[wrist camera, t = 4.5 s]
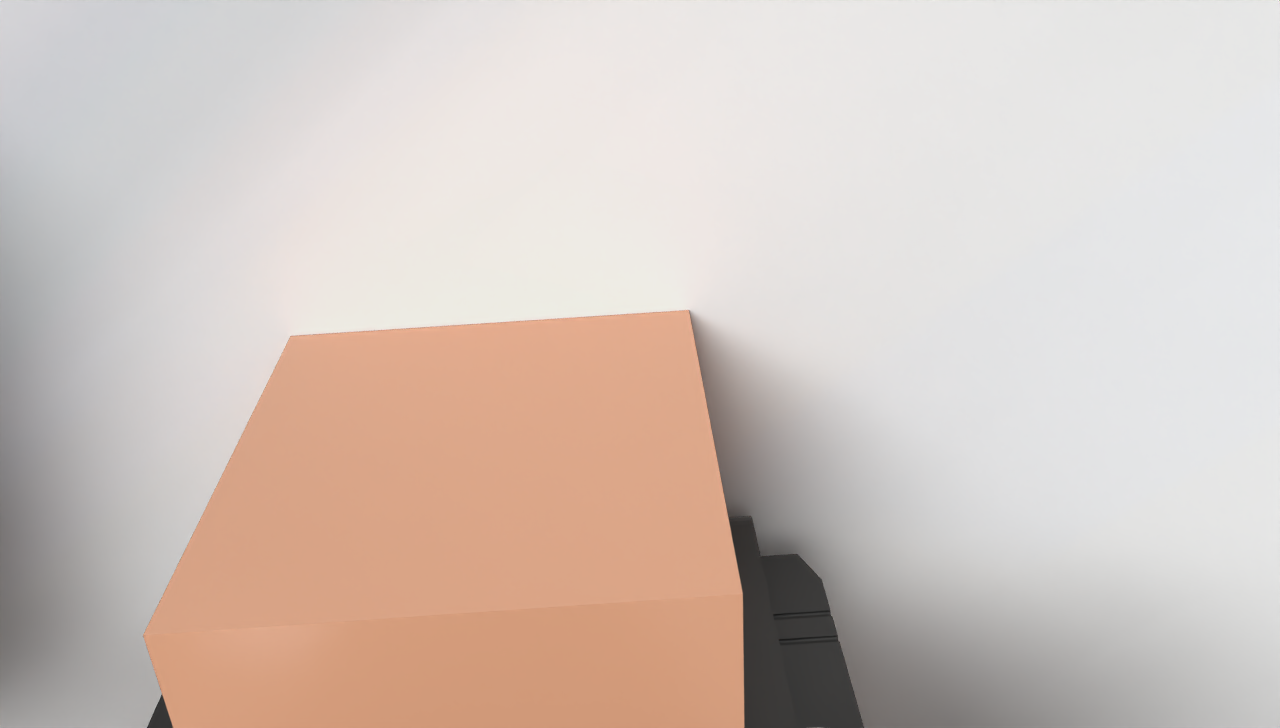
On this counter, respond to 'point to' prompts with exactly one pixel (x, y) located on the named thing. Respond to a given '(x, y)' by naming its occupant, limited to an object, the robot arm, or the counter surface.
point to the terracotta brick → (465, 539)
